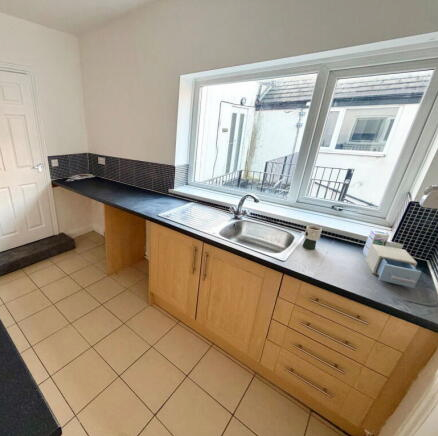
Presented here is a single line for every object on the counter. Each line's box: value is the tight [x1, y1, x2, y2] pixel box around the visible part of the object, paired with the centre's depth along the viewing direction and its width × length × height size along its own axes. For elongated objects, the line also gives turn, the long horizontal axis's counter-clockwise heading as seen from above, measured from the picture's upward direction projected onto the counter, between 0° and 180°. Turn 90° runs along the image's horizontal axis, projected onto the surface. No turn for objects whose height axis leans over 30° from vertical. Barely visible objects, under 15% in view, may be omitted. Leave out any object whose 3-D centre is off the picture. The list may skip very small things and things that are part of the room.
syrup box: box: [362, 229, 390, 258], centre depth 128 cm, size 6×6×14 cm
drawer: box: [376, 258, 422, 289], centre depth 108 cm, size 18×11×8 cm, turn 150°
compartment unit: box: [365, 244, 418, 276], centre depth 116 cm, size 15×13×10 cm
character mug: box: [302, 224, 323, 251], centre depth 136 cm, size 11×7×13 cm, turn 148°
